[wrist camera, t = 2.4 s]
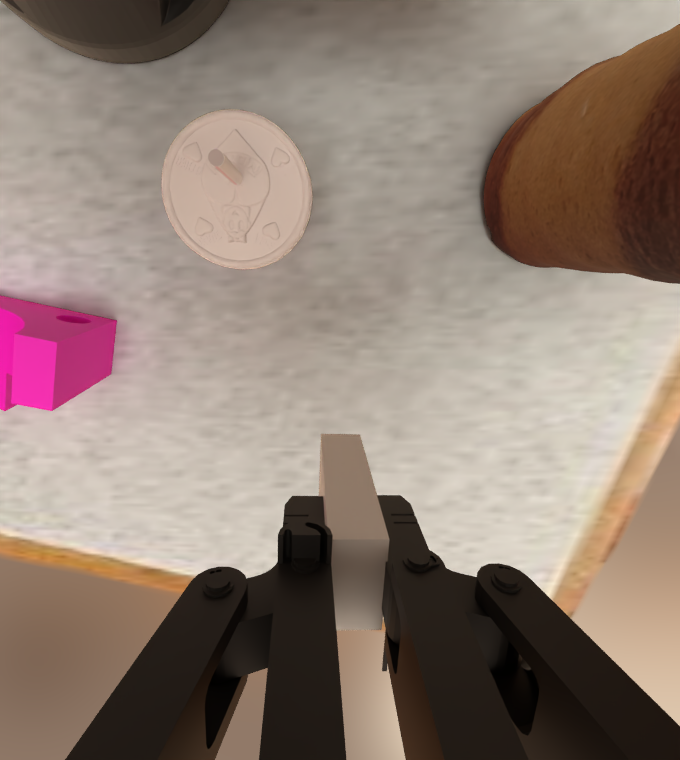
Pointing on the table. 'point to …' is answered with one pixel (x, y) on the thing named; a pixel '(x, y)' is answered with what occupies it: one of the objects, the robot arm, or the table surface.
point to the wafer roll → (596, 170)
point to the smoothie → (236, 189)
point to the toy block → (50, 353)
